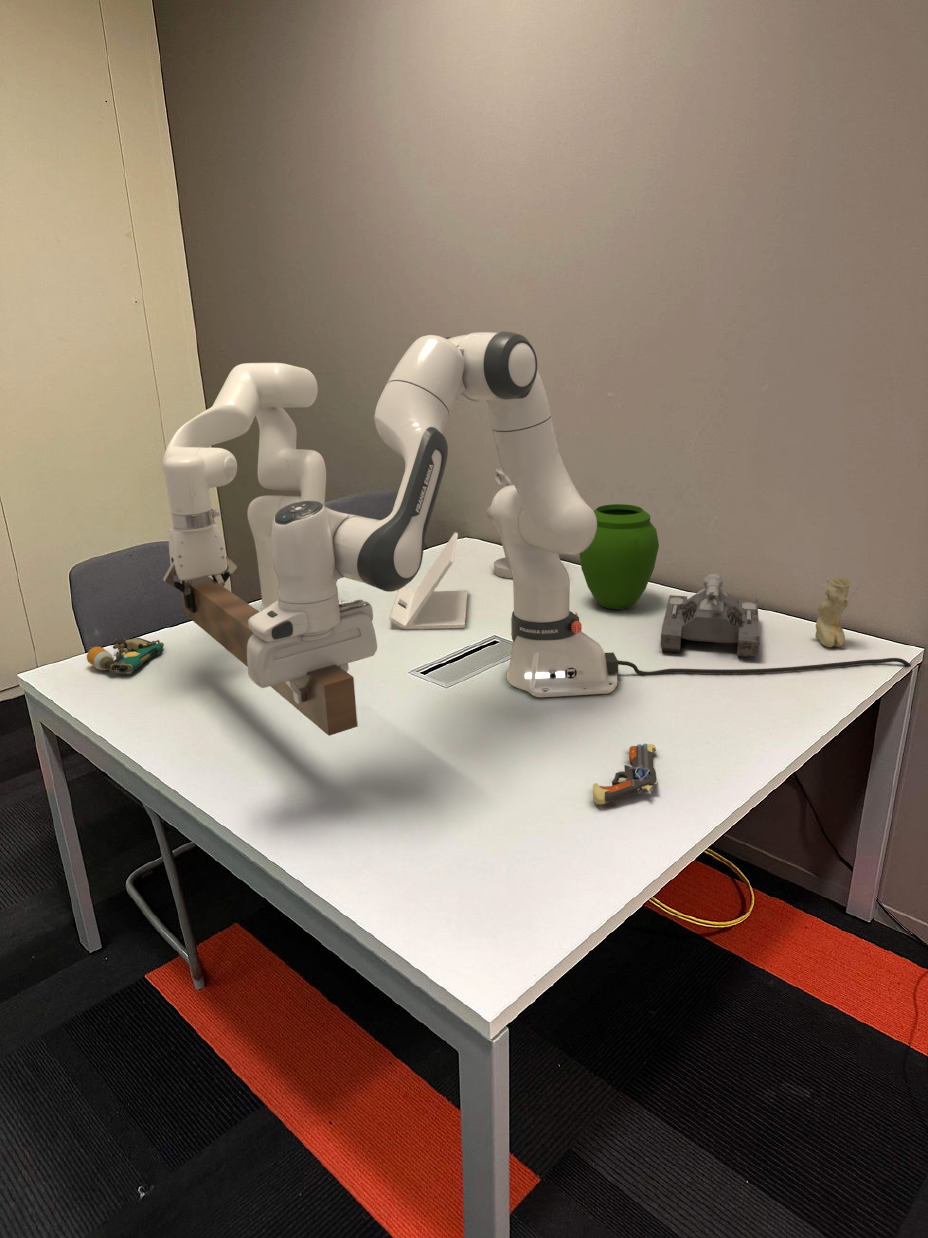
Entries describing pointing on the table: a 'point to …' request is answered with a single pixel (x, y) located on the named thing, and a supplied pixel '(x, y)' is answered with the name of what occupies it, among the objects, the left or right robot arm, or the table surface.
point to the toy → (711, 619)
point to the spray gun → (124, 655)
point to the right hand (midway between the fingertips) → (319, 695)
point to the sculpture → (832, 613)
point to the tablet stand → (432, 599)
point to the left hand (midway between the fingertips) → (205, 607)
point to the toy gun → (630, 776)
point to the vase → (620, 555)
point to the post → (324, 686)
